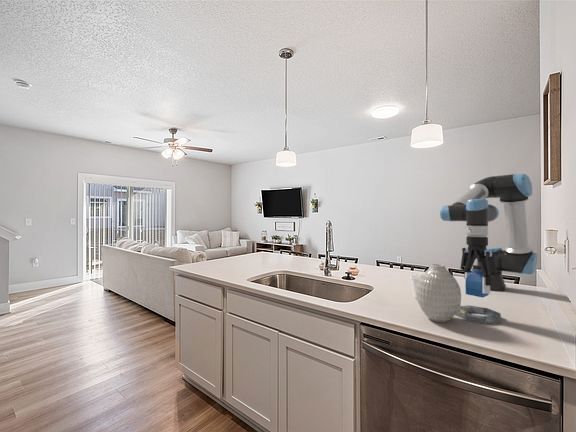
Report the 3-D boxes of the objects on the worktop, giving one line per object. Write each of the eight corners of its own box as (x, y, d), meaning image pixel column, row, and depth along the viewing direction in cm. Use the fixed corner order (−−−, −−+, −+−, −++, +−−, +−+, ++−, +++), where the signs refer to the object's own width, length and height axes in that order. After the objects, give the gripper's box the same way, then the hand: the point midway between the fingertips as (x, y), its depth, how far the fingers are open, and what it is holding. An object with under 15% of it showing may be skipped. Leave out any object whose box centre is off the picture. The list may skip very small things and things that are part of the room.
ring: (478, 309, 125) (478, 303, 125) (510, 322, 110) (510, 315, 110) (447, 311, 123) (447, 304, 123) (475, 324, 108) (475, 317, 108)
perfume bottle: (482, 297, 112) (482, 267, 112) (465, 294, 117) (465, 265, 117) (488, 295, 116) (488, 266, 116) (471, 291, 121) (471, 264, 121)
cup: (434, 301, 136) (433, 279, 136) (412, 300, 138) (412, 278, 138) (428, 296, 146) (428, 275, 146) (408, 295, 148) (407, 274, 148)
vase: (466, 319, 114) (465, 264, 114) (454, 330, 103) (454, 270, 103) (424, 309, 126) (424, 260, 125) (410, 319, 114) (409, 265, 114)
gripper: (450, 234, 126) (450, 284, 126) (490, 238, 105) (490, 297, 105) (465, 234, 127) (465, 283, 127) (508, 237, 106) (508, 297, 106)
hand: (477, 290), depth 116 cm, fingers closed on perfume bottle, 8 cm apart
